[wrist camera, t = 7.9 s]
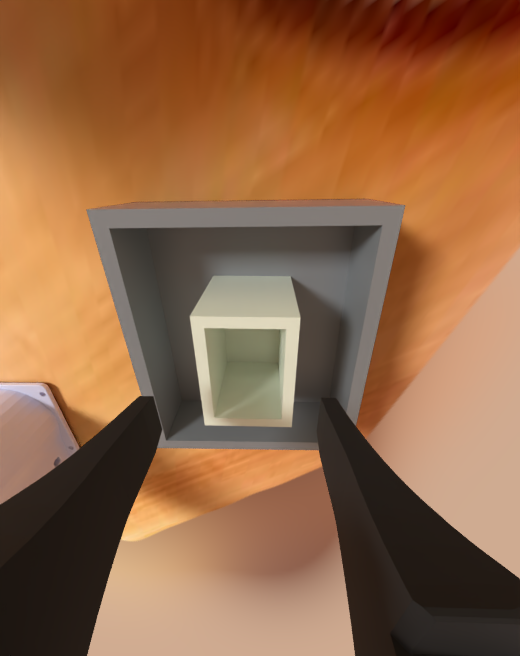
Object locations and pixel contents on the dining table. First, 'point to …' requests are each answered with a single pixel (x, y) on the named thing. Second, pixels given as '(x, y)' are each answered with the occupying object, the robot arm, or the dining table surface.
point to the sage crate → (247, 350)
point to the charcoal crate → (249, 260)
